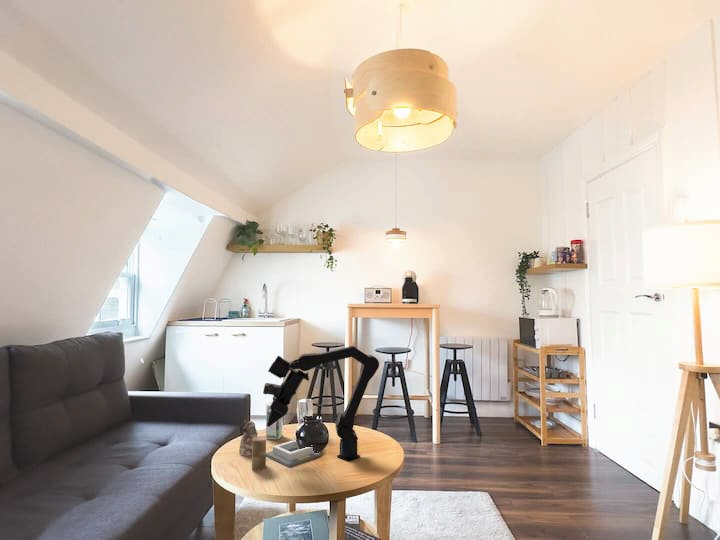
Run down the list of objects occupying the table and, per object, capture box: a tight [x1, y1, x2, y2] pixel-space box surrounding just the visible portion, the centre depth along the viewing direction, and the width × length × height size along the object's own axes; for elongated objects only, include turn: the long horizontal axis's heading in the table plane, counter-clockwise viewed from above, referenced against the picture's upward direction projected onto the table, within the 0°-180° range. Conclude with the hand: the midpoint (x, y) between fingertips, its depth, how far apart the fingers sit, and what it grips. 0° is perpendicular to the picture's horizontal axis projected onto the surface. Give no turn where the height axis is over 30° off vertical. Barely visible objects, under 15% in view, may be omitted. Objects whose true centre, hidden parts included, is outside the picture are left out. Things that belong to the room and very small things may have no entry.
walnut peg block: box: [251, 435, 267, 471], centre depth 144 cm, size 4×4×10 cm
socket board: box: [266, 439, 322, 468], centre depth 154 cm, size 15×15×4 cm
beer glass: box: [296, 398, 314, 426], centre depth 179 cm, size 7×7×15 cm
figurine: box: [238, 420, 258, 457], centre depth 158 cm, size 7×7×12 cm
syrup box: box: [265, 401, 284, 441], centre depth 176 cm, size 6×6×14 cm
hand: (268, 422), depth 150 cm, fingers open, 9 cm apart
